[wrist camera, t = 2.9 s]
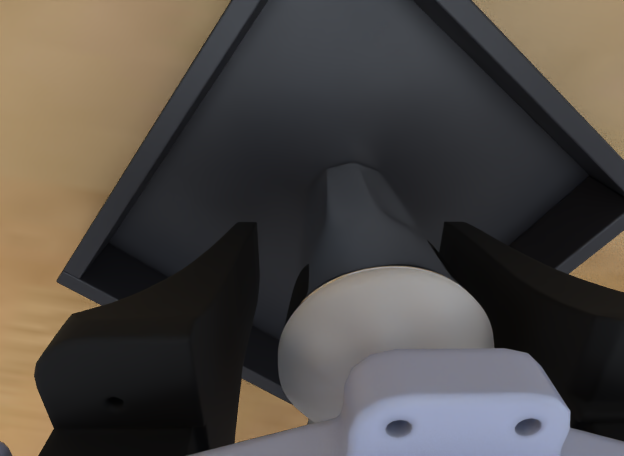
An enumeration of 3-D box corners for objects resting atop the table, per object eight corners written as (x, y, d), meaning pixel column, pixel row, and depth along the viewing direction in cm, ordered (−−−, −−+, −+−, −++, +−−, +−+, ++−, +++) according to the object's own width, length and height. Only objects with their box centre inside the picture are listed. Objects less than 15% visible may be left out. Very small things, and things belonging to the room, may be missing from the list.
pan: (352, 387, 21) (358, 440, 19) (91, 239, 17) (55, 282, 15) (606, 168, 16) (663, 200, 14) (321, -121, 12) (326, -153, 9)
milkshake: (251, 224, 17) (193, 483, 8) (344, 117, 15) (406, 296, 6) (340, 285, 18) (375, 562, 9) (434, 194, 16) (595, 432, 7)
